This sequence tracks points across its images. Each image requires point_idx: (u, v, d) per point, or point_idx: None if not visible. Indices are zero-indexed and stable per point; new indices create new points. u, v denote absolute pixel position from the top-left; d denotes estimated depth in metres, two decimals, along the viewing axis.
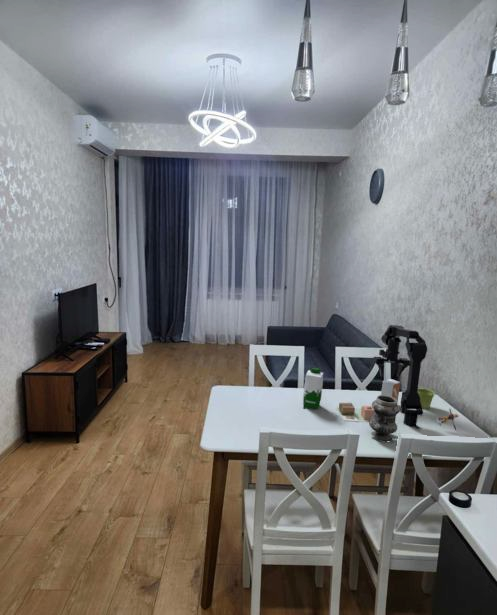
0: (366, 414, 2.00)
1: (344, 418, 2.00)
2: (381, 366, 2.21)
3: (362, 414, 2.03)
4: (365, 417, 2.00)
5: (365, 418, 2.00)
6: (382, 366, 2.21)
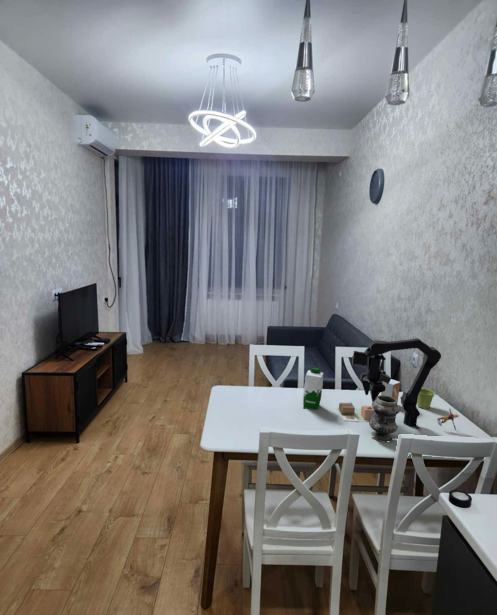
0: (366, 414, 2.00)
1: (344, 418, 2.00)
2: (361, 381, 2.06)
3: (362, 414, 2.03)
4: (365, 417, 2.00)
5: (365, 418, 2.00)
6: (361, 381, 2.06)
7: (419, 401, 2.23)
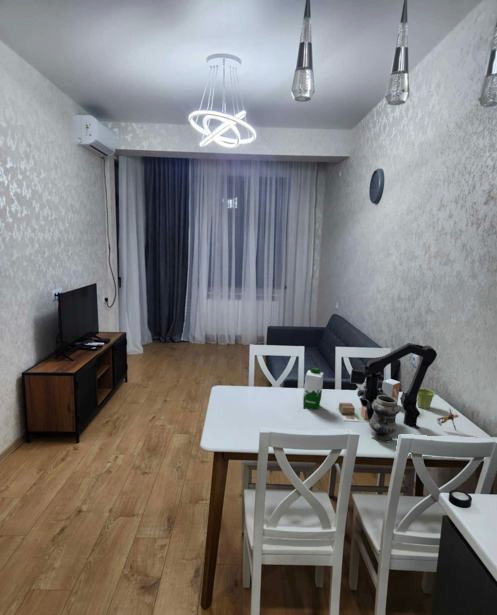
0: (366, 414, 2.00)
1: (344, 418, 2.00)
2: (360, 400, 2.06)
3: (362, 414, 2.03)
4: (365, 417, 2.00)
5: (365, 418, 2.00)
6: None
7: (419, 401, 2.23)
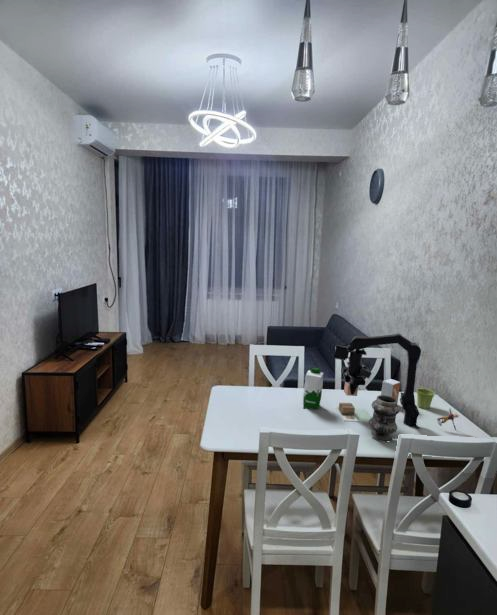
0: (349, 390, 2.02)
1: (344, 418, 2.00)
2: (344, 376, 2.08)
3: (345, 390, 2.05)
4: (348, 392, 2.02)
5: (348, 394, 2.02)
6: (344, 377, 2.07)
7: (419, 401, 2.23)
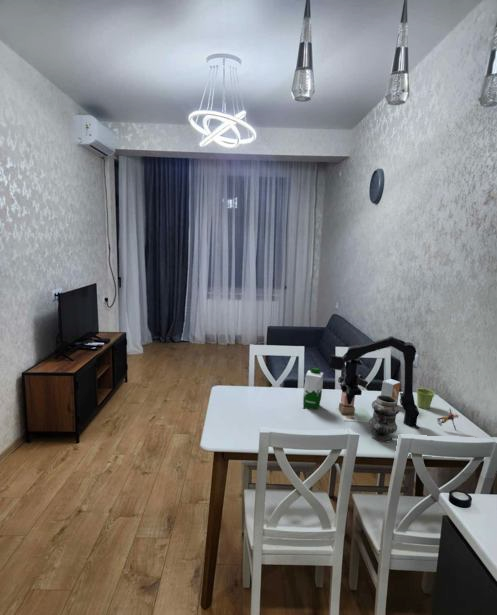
0: (346, 399, 2.03)
1: (344, 418, 2.00)
2: None
3: (342, 400, 2.06)
4: (345, 402, 2.04)
5: (345, 403, 2.04)
6: (341, 387, 2.09)
7: (419, 401, 2.23)
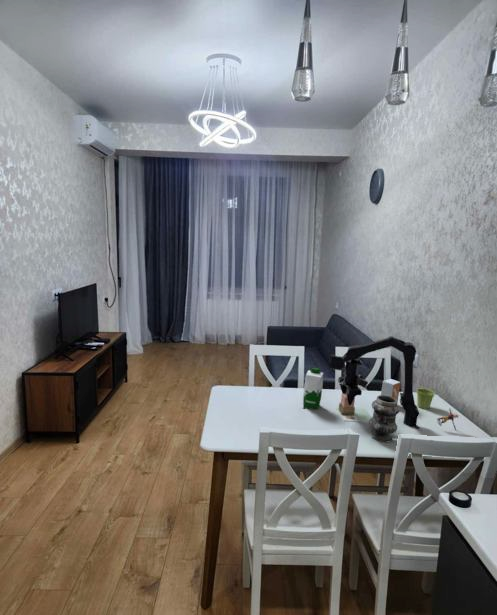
0: (346, 401, 2.03)
1: (344, 418, 2.00)
2: (340, 386, 2.10)
3: (342, 401, 2.06)
4: (345, 404, 2.04)
5: (345, 405, 2.04)
6: (340, 386, 2.10)
7: (419, 401, 2.23)
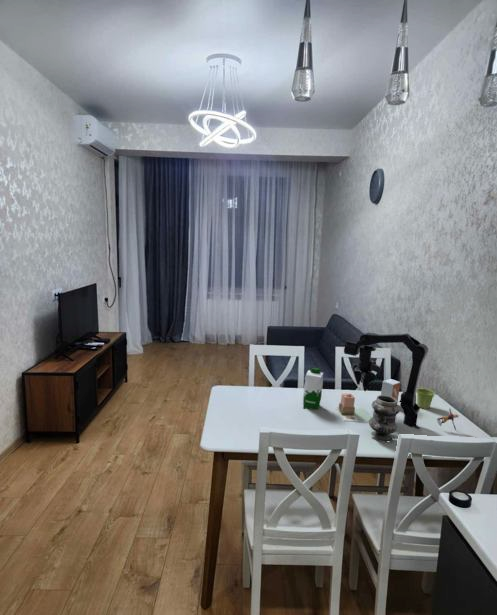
0: (346, 401, 2.03)
1: (344, 418, 2.00)
2: (353, 371, 2.16)
3: (342, 401, 2.06)
4: (345, 404, 2.04)
5: (345, 405, 2.04)
6: (353, 372, 2.16)
7: (419, 401, 2.23)
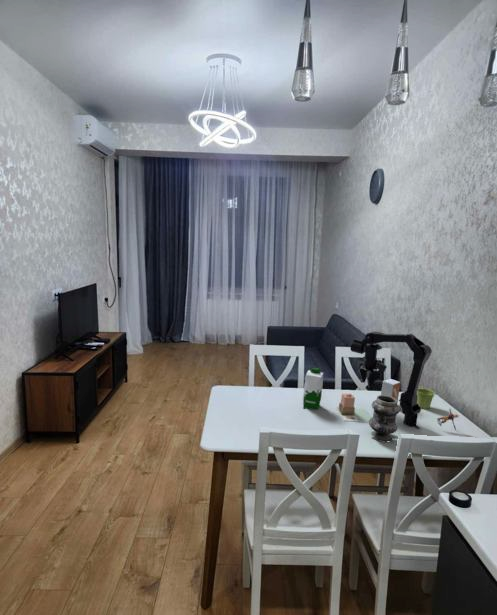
0: (346, 401, 2.03)
1: (344, 418, 2.00)
2: None
3: (342, 401, 2.06)
4: (345, 404, 2.04)
5: (345, 405, 2.04)
6: (359, 370, 2.19)
7: (419, 401, 2.23)
